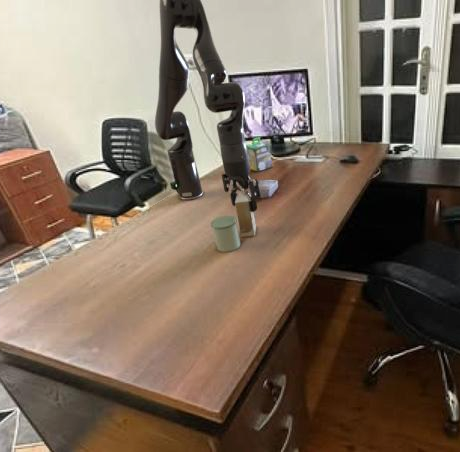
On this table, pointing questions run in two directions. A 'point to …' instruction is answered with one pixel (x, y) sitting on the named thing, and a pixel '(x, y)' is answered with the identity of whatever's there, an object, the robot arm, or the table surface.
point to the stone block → (267, 188)
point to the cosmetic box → (245, 216)
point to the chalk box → (259, 155)
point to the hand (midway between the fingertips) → (244, 207)
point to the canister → (226, 233)
